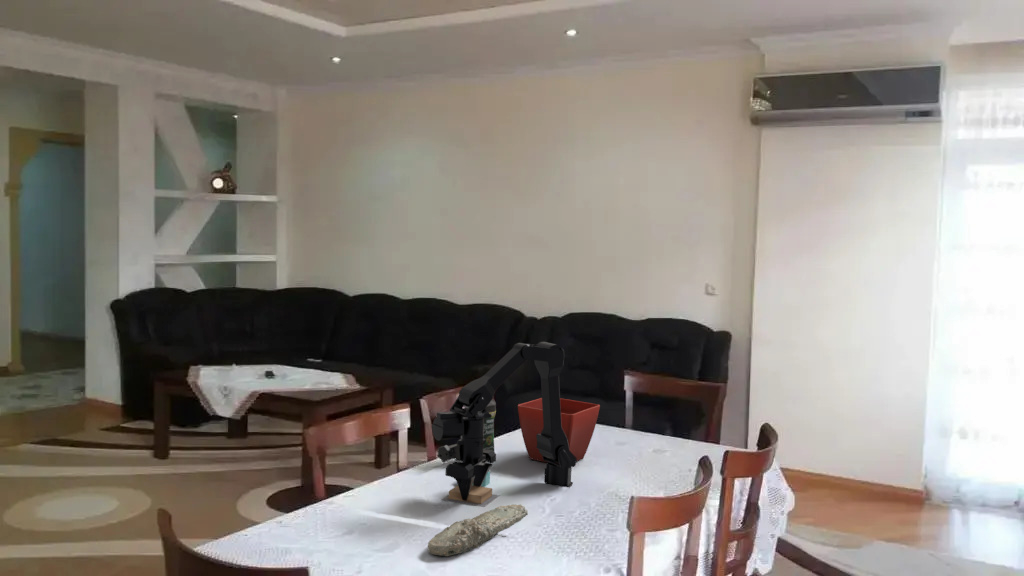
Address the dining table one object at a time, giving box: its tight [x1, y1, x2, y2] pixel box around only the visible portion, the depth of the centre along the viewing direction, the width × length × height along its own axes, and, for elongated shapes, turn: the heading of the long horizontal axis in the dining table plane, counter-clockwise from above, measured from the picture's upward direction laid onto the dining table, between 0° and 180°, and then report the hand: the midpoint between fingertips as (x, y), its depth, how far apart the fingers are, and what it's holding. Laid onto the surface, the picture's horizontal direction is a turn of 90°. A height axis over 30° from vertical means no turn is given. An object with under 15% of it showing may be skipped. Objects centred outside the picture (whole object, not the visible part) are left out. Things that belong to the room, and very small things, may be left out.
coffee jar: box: [464, 399, 497, 462], centre depth 257 cm, size 10×8×19 cm
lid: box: [448, 484, 493, 504], centre depth 218 cm, size 9×7×2 cm
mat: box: [440, 493, 500, 508], centre depth 218 cm, size 12×10×1 cm
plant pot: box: [517, 397, 601, 464], centre depth 260 cm, size 19×19×17 cm
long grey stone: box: [427, 504, 529, 557], centre depth 195 cm, size 35×5×10 cm
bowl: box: [472, 471, 491, 487], centre depth 230 cm, size 7×7×4 cm
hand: (470, 495), depth 218 cm, fingers closed on lid, 7 cm apart
